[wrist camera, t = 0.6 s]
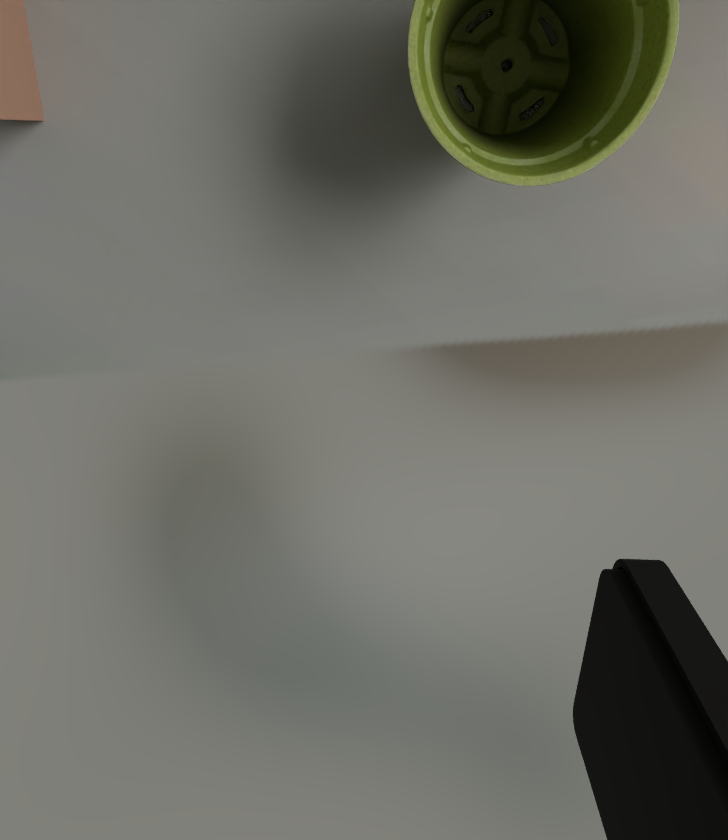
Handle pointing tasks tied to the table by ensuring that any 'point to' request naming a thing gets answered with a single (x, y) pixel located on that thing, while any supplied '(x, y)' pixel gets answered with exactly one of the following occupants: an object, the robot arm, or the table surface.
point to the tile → (17, 66)
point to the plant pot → (538, 80)
